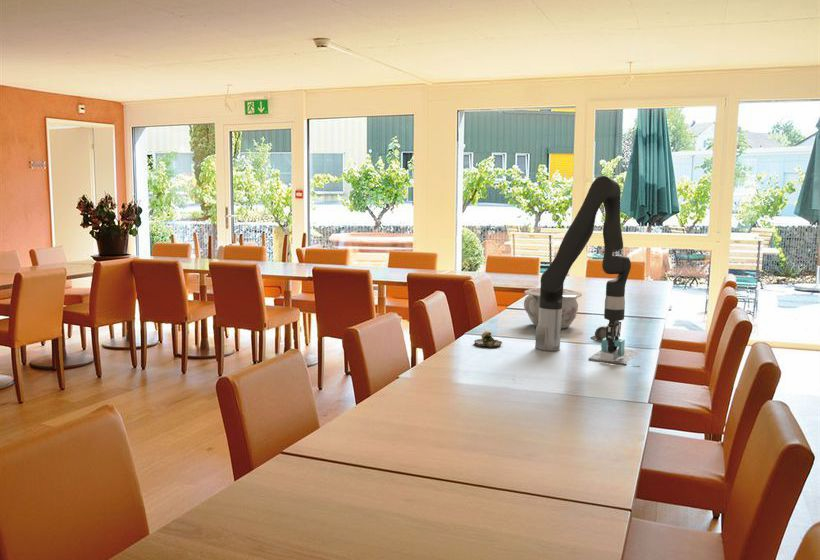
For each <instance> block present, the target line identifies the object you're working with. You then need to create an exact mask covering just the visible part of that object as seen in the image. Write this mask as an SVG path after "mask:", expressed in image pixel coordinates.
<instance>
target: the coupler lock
mask: <svg viewBox="0 0 820 560" xmlns="http://www.w3.org/2000/svg"><path fill="white" fill-rule="evenodd" d="M625 341H626V340H625V339H624V338H623V339H620V338H619V339H615V341H614V346H617V347H618V357H622V356H623V355H624V349H625V343H626V342H625ZM600 347H601V350H600V351H601V352H605V351H606V350H608V341H606V338H604V339H602V340H601V345H600Z"/></svg>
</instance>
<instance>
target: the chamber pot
mask: <svg viewBox="0 0 820 560" xmlns="http://www.w3.org/2000/svg"><path fill="white" fill-rule="evenodd" d="M540 289H541V287H535V288H529V289H526V290H524V294H526V295H527V296H526V297H525V298H524V300H523V301H524V302H523V308H524V311H525V312H526V314H527V316H528V318H529V319H530V322H531V323H532V324H533V325H534V326H535V327H536V326H537V325H538V322H539V303H540ZM582 295H583V294H582V293H581V292H578V291H575V290H571V289H567V288H563V301H562V317H561V330H563V329H567V328H568V327H570V326H571V325H572V323H573V322H574V321H575V319H576V318H577V314H578V312H579V303H578V301H577V298H579V297H582Z"/></svg>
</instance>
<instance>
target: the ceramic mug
mask: <svg viewBox="0 0 820 560" xmlns="http://www.w3.org/2000/svg"><path fill="white" fill-rule="evenodd" d="M607 326H608V325H603V326H599V327H598V328H596V330H595V331H594V335H592V336H590V339H591V340H595V341H600V340H601V341H602V339H604V338H606V327H607ZM610 338H611V336H610Z"/></svg>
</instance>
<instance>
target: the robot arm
mask: <svg viewBox="0 0 820 560" xmlns="http://www.w3.org/2000/svg"><path fill="white" fill-rule="evenodd" d="M621 192H622V191H621V187H620V185H619V183H618V182H617V181H616V180H614V179H612V178H611V177H609V176H608V175H600V176H598V177H597V178H595V179H594V180H593V181H592V183H591V185H590V188H588V191H587V193H586V196H585V198H584V201H583V203H582V204H581V206H580V208H579V210H578V211H577V214H576V215H575V218H574V219H573V221H572V223H571V224H570V225H569V227H568V229H567V231H566V233H565V234H564V236H563V238H562V240H561V243H560V244H559V248H558V250H557V252H556V255H555V256H554V259H553V260H552V261H551V263H550V265H549V266H548V267H547V269H546V270H545V271H544V272H543V273H542V274H541V276H540V288H541V289H540V303H539V322H538V325H537V326H536V325H535V327H536V328H535V329H536V330H535V345H534V347H535V348H536V349H538V350H542V351H544V352H545V351H550V352H551V351H552V352H555V351H560V350H561V348H560V347H561V331H562V329H561V317H562V301H563V289H564V285H565V283H564V282H565V280H566V278H567V276H568V273H569V272H570V269H571V267H572V266H573V264H574V263H575V261H576V260H577V259H578V258H579V256H580V255H581V254H582V252H583V250H584V249H585V247H586V246H587V244H588V242H589V240H590V239H591V238H592V236H593V232H594V228H595V223H596V217H597V215H598V211H599V209H600V207H601V206H602V204H603V208H604V214H605V215H604V222H603V227H602V237H603V244H604V251H603V258H602V264H601V268H602V270H603V272H604V273H605V274H607V275H617V277H616V278H614V279H611V280H608V281H606V284H605V285H606V286H605V298H604V309H603V310H604V312H603V313H604V314H603V315H604V316H603V317H604V320H608V323H607V325H606V326H607V327H606V341H608V351H611V352H613V351H614V349H617V348H618V347H617V346H614V341H615V339H620V337H621V327H622V321H624V319H625V311H626V310H625V309H626V298H625V295H626V293H625V292H626V284H627V280H628V277H629V274H630V271H631V268H632V262H631V259H630V258H629V256H627V255H613V253H616V252H619V251H621V250H623V248H624V240H623V233H622V226H621ZM610 336H611V338H610Z"/></svg>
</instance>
